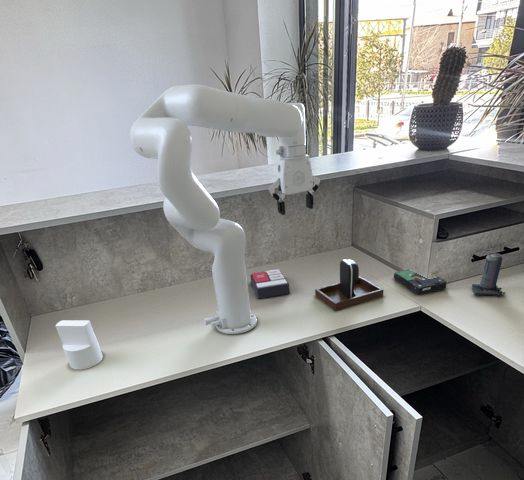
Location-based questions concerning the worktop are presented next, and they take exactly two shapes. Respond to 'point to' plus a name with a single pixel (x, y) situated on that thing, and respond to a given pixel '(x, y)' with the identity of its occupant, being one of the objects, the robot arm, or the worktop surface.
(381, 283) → the worktop surface
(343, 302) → the tray
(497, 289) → the grey cylinder on base
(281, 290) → the calculator
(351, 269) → the battery charger
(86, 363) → the cylinder with rectangular tab
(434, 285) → the disk drive
